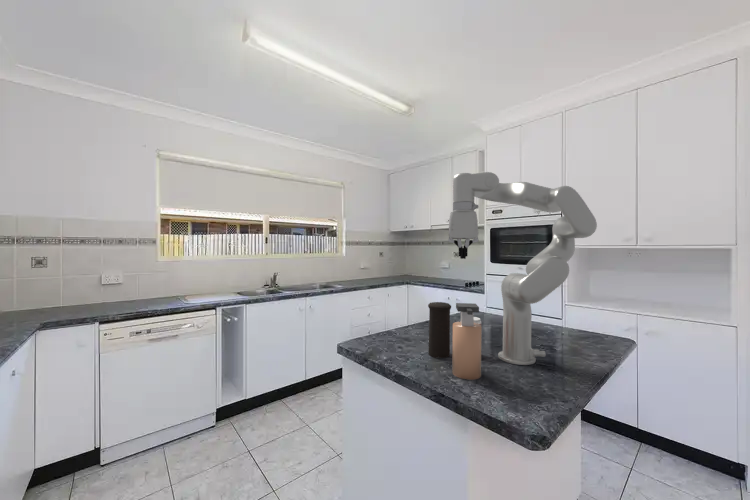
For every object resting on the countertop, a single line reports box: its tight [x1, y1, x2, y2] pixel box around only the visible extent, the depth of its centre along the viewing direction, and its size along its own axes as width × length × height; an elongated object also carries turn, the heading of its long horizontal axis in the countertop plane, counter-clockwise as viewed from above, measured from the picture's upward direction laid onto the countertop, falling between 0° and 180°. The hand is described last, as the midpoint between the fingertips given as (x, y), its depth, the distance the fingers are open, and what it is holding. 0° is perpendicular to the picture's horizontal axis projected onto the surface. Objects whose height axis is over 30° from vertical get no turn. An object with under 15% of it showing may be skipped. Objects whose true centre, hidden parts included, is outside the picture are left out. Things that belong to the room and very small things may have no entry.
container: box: [427, 301, 452, 359], centre depth 121 cm, size 9×9×20 cm
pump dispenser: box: [451, 312, 483, 381], centre depth 103 cm, size 9×9×20 cm
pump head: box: [455, 302, 480, 315], centre depth 101 cm, size 6×10×6 cm, turn 171°
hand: (462, 258), depth 115 cm, fingers closed
